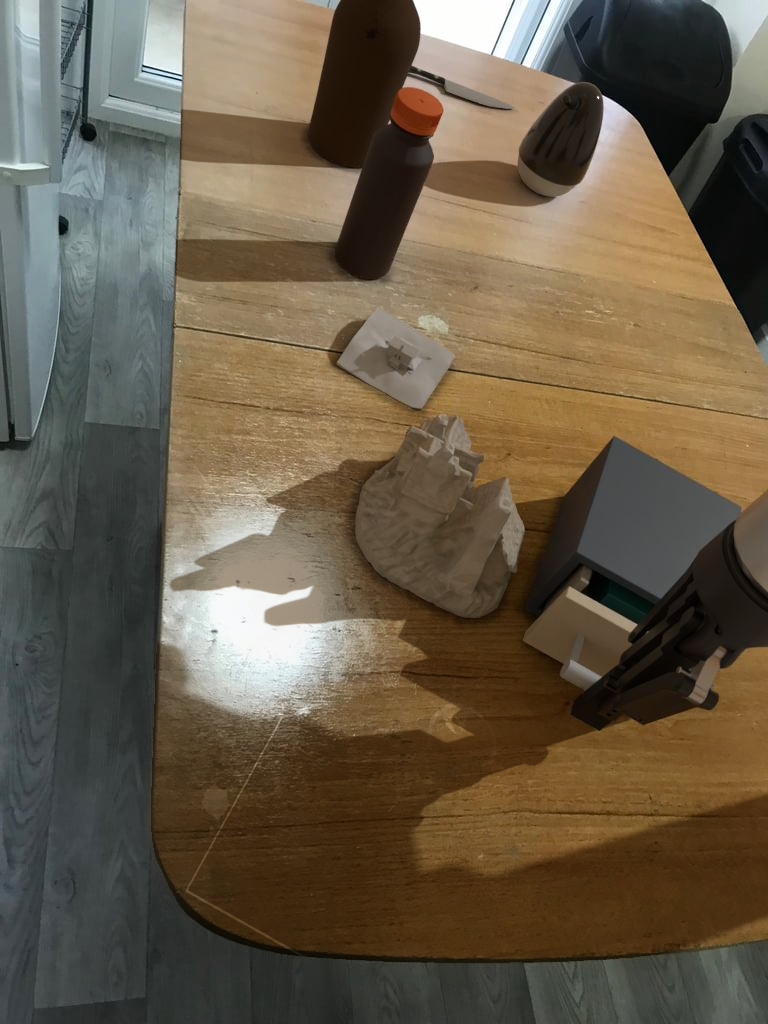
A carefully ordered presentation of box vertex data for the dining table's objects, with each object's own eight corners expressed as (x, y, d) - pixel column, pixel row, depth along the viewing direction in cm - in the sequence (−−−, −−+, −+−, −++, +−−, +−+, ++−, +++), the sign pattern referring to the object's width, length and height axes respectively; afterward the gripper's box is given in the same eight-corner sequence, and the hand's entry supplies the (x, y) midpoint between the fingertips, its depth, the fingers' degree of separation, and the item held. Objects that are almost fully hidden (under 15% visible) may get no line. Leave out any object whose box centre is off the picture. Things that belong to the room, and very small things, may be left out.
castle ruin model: (479, 641, 72) (559, 535, 62) (320, 539, 74) (371, 419, 63) (536, 534, 83) (613, 428, 72) (396, 447, 85) (451, 332, 74)
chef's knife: (515, 119, 132) (515, 108, 134) (518, 113, 131) (518, 102, 133) (401, 78, 128) (402, 67, 129) (403, 71, 127) (404, 60, 128)
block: (637, 606, 78) (667, 579, 74) (627, 648, 75) (659, 622, 71) (589, 580, 78) (618, 552, 74) (578, 621, 75) (607, 593, 71)
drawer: (639, 755, 70) (696, 719, 64) (507, 681, 70) (551, 638, 64) (674, 590, 82) (724, 547, 76) (561, 527, 82) (603, 479, 76)
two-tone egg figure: (493, 169, 121) (541, 66, 109) (536, 158, 127) (586, 59, 115) (542, 213, 118) (597, 113, 106) (583, 200, 124) (640, 103, 112)
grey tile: (331, 378, 85) (341, 352, 83) (353, 311, 93) (363, 285, 90) (440, 418, 87) (454, 394, 84) (453, 350, 94) (466, 325, 91)
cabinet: (656, 683, 76) (723, 634, 69) (523, 609, 76) (576, 551, 69) (681, 561, 86) (742, 506, 79) (564, 495, 86) (614, 435, 79)
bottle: (345, 234, 100) (400, 72, 85) (396, 259, 101) (460, 103, 85) (325, 262, 96) (379, 97, 81) (378, 289, 96) (442, 130, 81)
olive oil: (389, 174, 111) (462, -25, 92) (314, 167, 106) (374, -44, 87) (365, 126, 116) (429, -72, 97) (293, 118, 112) (345, -92, 92)
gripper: (836, 681, 46) (611, 810, 64) (840, 520, 54) (641, 674, 72) (715, 615, 46) (524, 762, 64) (738, 464, 54) (564, 631, 72)
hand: (586, 715), depth 68 cm, fingers closed
